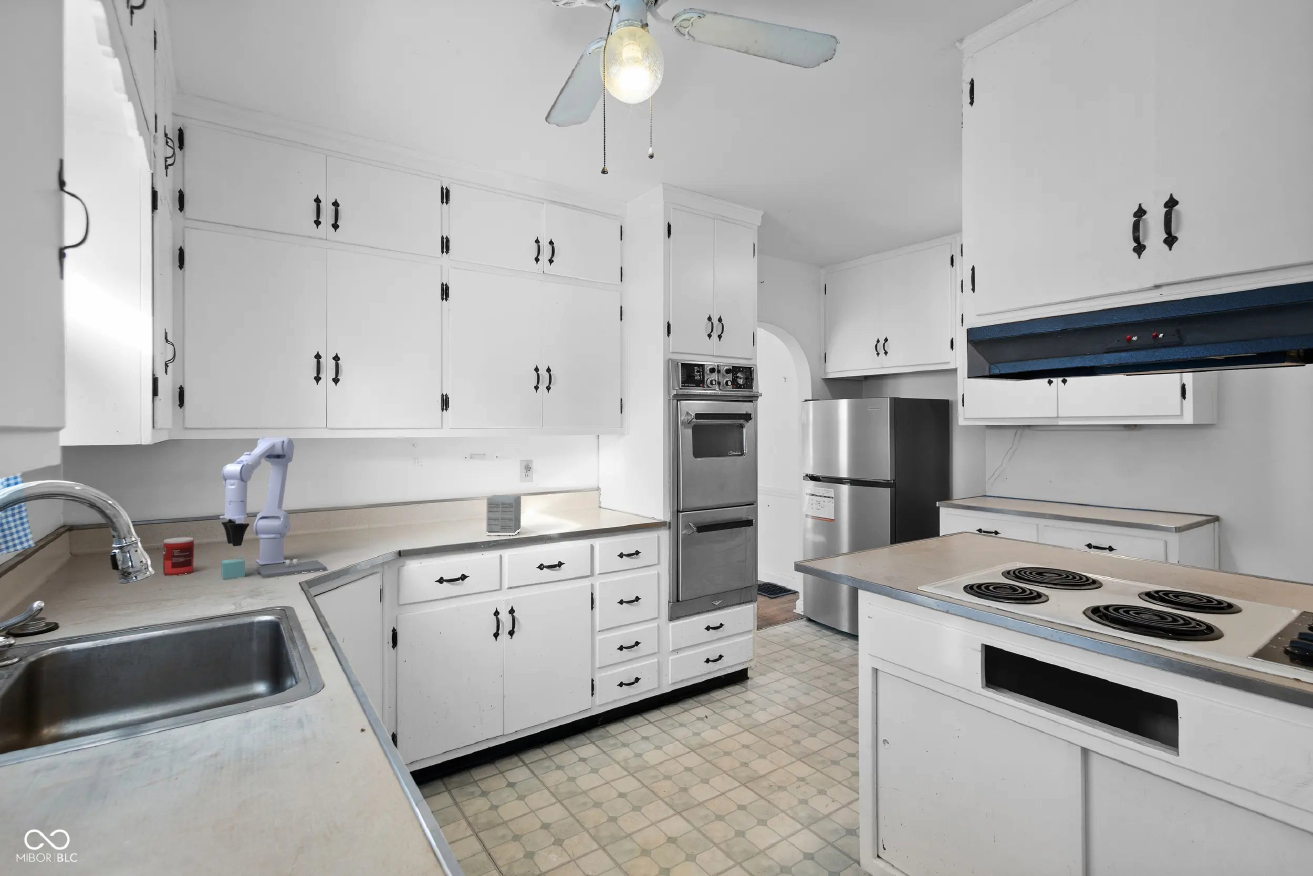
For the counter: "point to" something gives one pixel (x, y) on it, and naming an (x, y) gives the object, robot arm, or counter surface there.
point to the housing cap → (232, 568)
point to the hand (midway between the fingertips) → (234, 544)
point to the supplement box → (503, 513)
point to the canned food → (178, 556)
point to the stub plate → (290, 568)
